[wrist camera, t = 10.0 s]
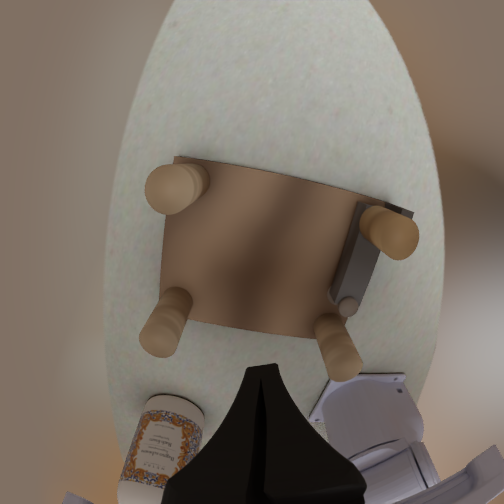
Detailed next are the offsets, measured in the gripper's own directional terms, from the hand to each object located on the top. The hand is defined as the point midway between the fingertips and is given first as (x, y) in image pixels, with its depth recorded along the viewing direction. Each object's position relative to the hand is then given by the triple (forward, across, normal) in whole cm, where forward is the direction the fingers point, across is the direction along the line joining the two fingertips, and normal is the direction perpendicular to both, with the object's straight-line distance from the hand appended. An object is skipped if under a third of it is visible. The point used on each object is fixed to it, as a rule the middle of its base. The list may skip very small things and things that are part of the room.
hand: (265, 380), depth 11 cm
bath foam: (+10, +12, +14) cm, 21 cm away
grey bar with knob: (+9, -7, -2) cm, 11 cm away
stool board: (+10, -1, -2) cm, 10 cm away
